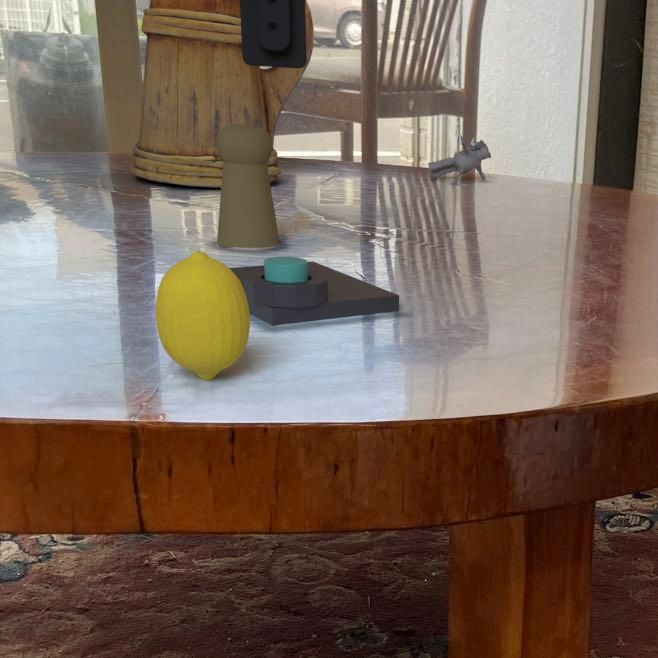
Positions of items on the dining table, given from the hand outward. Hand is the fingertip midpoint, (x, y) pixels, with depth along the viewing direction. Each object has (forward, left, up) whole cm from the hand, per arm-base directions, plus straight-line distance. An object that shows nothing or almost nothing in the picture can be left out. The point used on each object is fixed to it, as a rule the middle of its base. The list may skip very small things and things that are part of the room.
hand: (274, 62), depth 62 cm
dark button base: (+11, +20, -19) cm, 30 cm away
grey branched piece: (+67, +76, -19) cm, 104 cm away
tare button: (+8, +16, -16) cm, 24 cm away
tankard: (+34, +83, -19) cm, 92 cm away
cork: (+18, +43, -19) cm, 51 cm away
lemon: (-4, +3, -19) cm, 20 cm away
